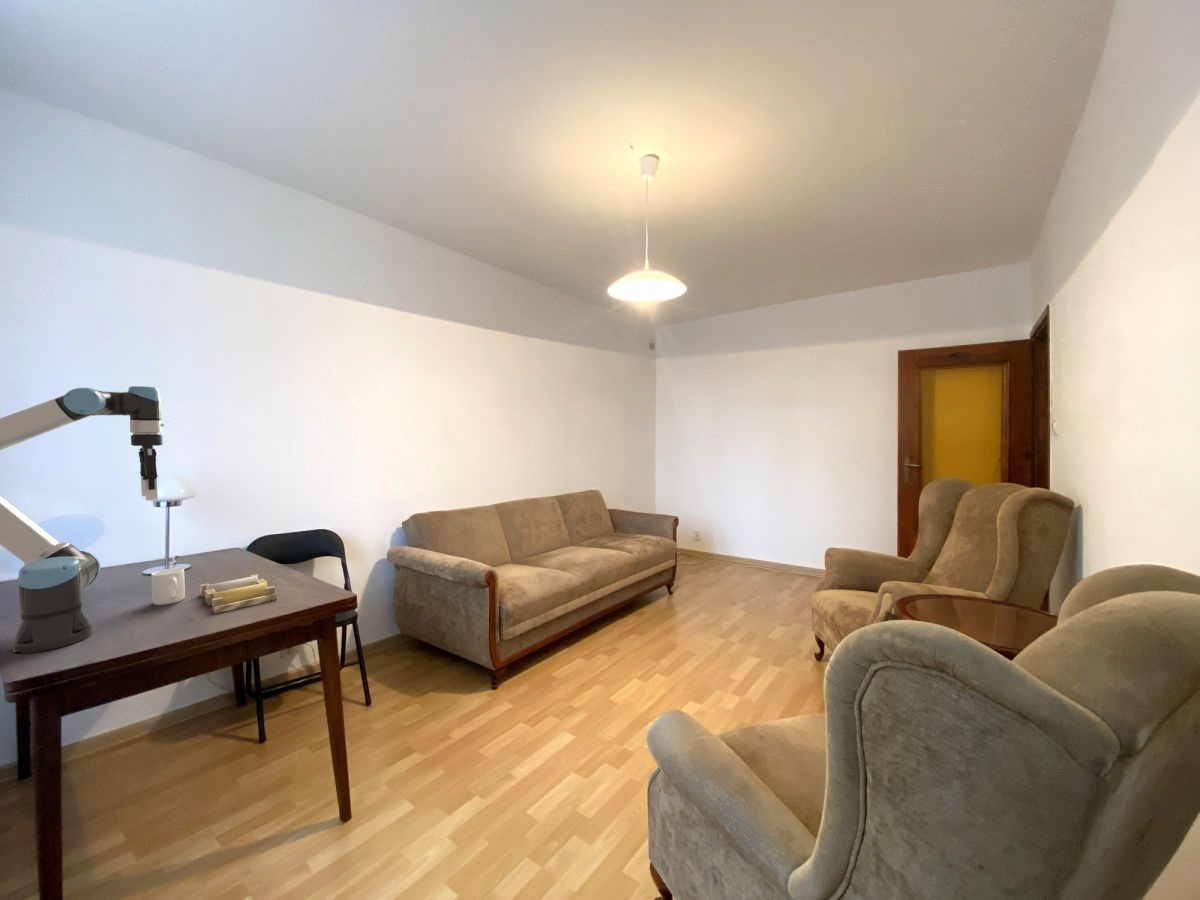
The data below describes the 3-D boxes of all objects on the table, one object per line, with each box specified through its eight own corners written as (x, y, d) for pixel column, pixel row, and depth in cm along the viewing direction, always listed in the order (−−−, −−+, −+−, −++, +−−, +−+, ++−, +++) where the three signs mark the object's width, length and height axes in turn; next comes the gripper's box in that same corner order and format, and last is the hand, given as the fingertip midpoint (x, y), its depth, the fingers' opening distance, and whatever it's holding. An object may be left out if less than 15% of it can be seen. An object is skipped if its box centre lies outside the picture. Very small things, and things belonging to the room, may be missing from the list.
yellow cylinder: (217, 604, 161) (215, 590, 163) (214, 609, 164) (212, 595, 166) (269, 593, 173) (266, 580, 174) (266, 598, 175) (263, 585, 177)
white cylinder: (208, 601, 171) (208, 589, 170) (206, 595, 174) (206, 582, 173) (258, 590, 182) (259, 579, 181) (255, 585, 185) (256, 573, 184)
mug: (160, 609, 162) (159, 578, 161) (149, 602, 168) (147, 572, 168) (192, 601, 169) (191, 571, 168) (180, 595, 175) (179, 566, 175)
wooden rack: (214, 613, 158) (214, 601, 157) (200, 594, 176) (199, 584, 175) (276, 599, 171) (276, 588, 170) (257, 583, 189) (256, 573, 188)
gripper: (167, 433, 151) (169, 500, 152) (157, 433, 167) (160, 493, 168) (134, 434, 145) (137, 502, 146) (127, 433, 162) (130, 495, 163)
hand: (149, 497), depth 157 cm, fingers open, 13 cm apart
